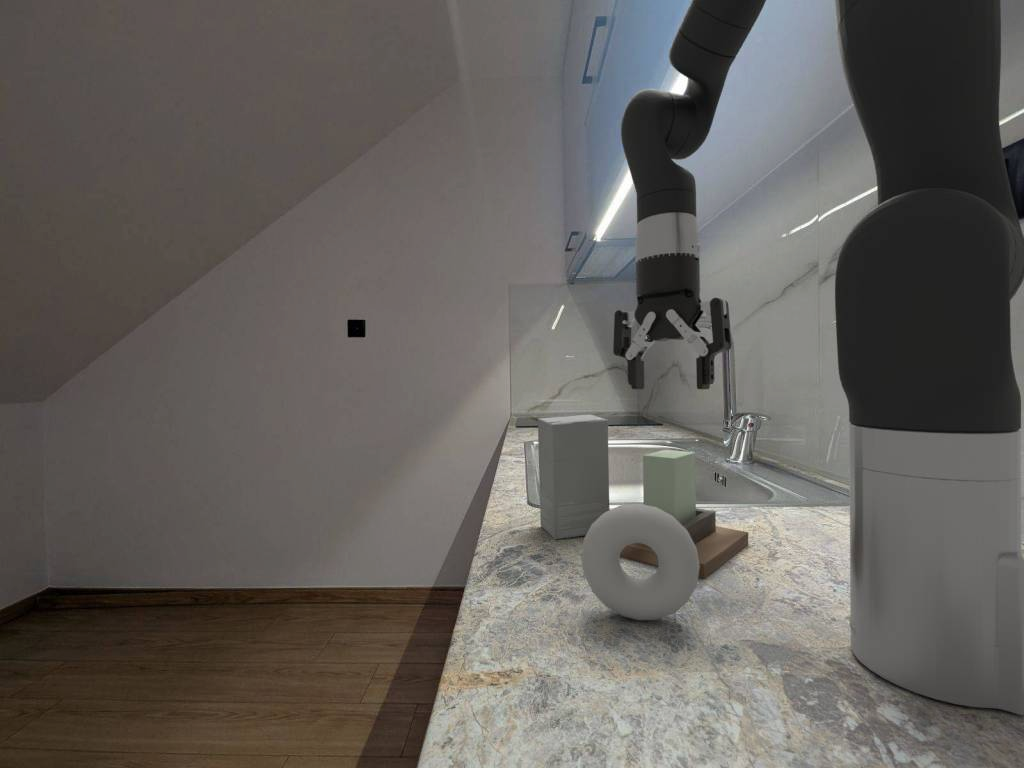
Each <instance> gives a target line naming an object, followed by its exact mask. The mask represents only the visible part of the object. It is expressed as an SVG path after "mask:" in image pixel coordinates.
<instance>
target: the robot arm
mask: <svg viewBox="0 0 1024 768" xmlns="http://www.w3.org/2000/svg"><path fill="white" fill-rule="evenodd" d="M766 2H767V0H690V2H689V5H688V7H687V9H686V11H685V14H684V16H683V18H682V20H681V22H680V24H679V26H678V28H677V31H676V33H675V35H674V37H673V39H672V43H671V45H670V48H669V51H668V60H669V63H670V64H671V66H672V68H674V70H675V71H677V72H678V73H680V74H681V75H682V76H684V77H686V78H687V83H686V86H685V87H686V88H685V90H684V92H683V94H679V93H674V92H671V91H670V92H669V91H667V90H662V89H657V88H645V89H641V90H639V91H638V92H637V93H635V94H634V95H633V96H632V97H631V99H629V101H628V102H627V104H626V106H625V109H624V111H623V115H622V117H621V123H620V126H621V127H620V134H621V135H620V136H621V143H622V144H621V145H622V148H623V152H624V155H625V158H626V159H625V160H626V163H627V165H628V169H629V173H630V176H631V179H632V182H633V185H634V189H635V193H636V225H637V226H636V228H637V229H636V234H635V245H634V247H635V281H636V282H635V283H636V284H635V288H636V289H635V292H636V293H635V295H636V298H637V299H636V301H637V306H636V308H635V310H632V311H631V310H630V311H628V310H627V311H625V310H621V309H618V310H616V311H615V312H614V319H613V323H614V324H613V354H614V355H615V356H616V357H621V358H624V359H625V360H626V361H627V382H628V385H629V386H630V387H631V389H632V390H644V388H645V361H644V360H642V359H643V357H645V355H646V354H647V352H648V350H649V349H650V348H651V347H653V345H654V344H655V343H656V342H667V341H670V340H674V341H675V340H677V341H680V340H685V342H686V343H688V344H690V345H691V347H692V348H693V349H694V351H695V352H696V353H697V354H698V355H699V357H696V358H695V359H696V360H695V361H696V362H695V363H696V364H695V368H696V388H697V390H710V388H711V387H710V386H711V385H714V382H715V357H716V356H717V355H718V354H720V353H722V352H725V351H726V352H727V351H730V349H732V333H731V322H730V309H729V302H728V301H727V300H725V299H724V298H720V297H713V298H711V299H710V300H707V301H702V300H701V297H700V292H701V280H700V279H701V276H700V275H701V273H700V272H701V271H700V270H701V269H700V268H701V267H700V254H701V244H700V234H699V230H698V223H697V222H698V221H697V220H698V219H697V188H696V187H697V186H696V185H697V184H696V178H695V176H694V174H693V173H692V172H690V171H689V170H688V169H686V168H684V167H683V166H681V165H679V164H677V163H676V162H674V160H676V161H677V160H680V161H681V160H685V159H687V158H689V157H691V156H692V155H693V154H695V153H696V152H697V151H698V150H699V149H700V148H701V147H702V146H703V144H704V143H705V141H706V139H707V138H708V135H709V133H710V130H711V128H712V126H713V121H714V118H715V115H716V111H717V108H718V104H719V102H720V99H721V95H722V93H723V91H724V90H723V89H724V86H725V83H726V81H727V80H726V79H727V77H728V74H729V70H730V68H731V66H732V65H733V62H734V61H735V59H736V57H737V55H738V54H739V52H740V50H741V49H742V47H743V45H744V43H745V42H746V39H747V38H748V36H749V34H750V32H751V30H752V29H753V27H754V25H755V24H756V22H757V19H758V18H759V16H760V14H761V13H762V10H763V9H764V6H765V4H766ZM834 12H835V13H834V14H835V25H836V37H837V46H838V51H839V58H840V63H841V67H842V72H843V75H844V79H845V82H846V85H847V89H848V92H849V94H850V97H851V100H852V104H853V106H854V109H855V111H856V114H857V116H858V120H859V122H860V125H861V128H862V130H863V132H864V135H865V138H866V141H867V143H868V145H869V149H870V152H871V157H872V160H873V162H874V163H873V165H874V170H875V175H876V188H877V205H876V206H875V207H874V208H872V209H870V211H868V212H867V213H866V214H865V215H863V216H862V218H861V219H860V220H858V222H857V223H856V224H855V225H854V226H853V228H852V229H851V230H850V232H849V233H848V235H847V236H846V238H845V240H844V242H843V243H842V247H841V249H840V251H839V255H838V259H837V263H836V268H835V269H836V270H835V278H834V279H835V280H834V308H835V309H834V310H835V311H834V312H835V329H836V331H835V333H836V348H837V349H836V350H837V351H836V352H837V365H838V366H837V367H838V369H837V370H838V376H839V380H840V385H841V387H842V390H843V392H844V394H845V397H846V399H847V404H848V413H849V414H848V420H849V421H848V422H849V423H848V430H849V431H848V432H849V433H848V434H849V435H848V439H849V440H848V441H849V442H848V443H849V445H848V446H849V447H848V448H849V449H848V450H849V460H848V461H849V465H848V467H849V579H850V580H849V581H850V582H849V587H850V588H849V590H850V592H849V593H850V595H849V597H850V601H849V602H850V616H849V628H850V649H851V651H852V653H853V655H854V657H855V658H856V659H857V660H858V662H860V663H861V664H862V665H863V666H865V667H866V668H867V669H868V670H870V671H872V672H873V673H875V674H876V675H878V676H879V677H881V678H883V679H885V680H887V681H888V682H890V683H892V684H894V685H896V686H899V687H901V688H903V689H906V690H908V691H910V692H913V693H915V694H919V695H922V696H925V697H927V698H932V699H934V700H937V701H942V702H946V703H951V704H954V705H960V706H965V707H972V708H980V709H981V708H984V709H985V708H986V709H998V710H1003V711H1006V712H1010V713H1013V714H1017V715H1020V716H1024V555H1023V551H1022V477H1021V476H1022V432H1021V429H1022V398H1021V393H1020V392H1021V391H1020V388H1019V386H1018V382H1017V380H1016V379H1017V378H1016V374H1015V370H1014V369H1015V368H1014V363H1013V355H1012V344H1011V343H1012V341H1011V340H1012V337H1011V336H1012V335H1011V334H1012V333H1011V330H1012V329H1011V300H1012V299H1013V298H1014V296H1016V294H1017V292H1018V291H1019V288H1020V287H1021V285H1022V284H1023V282H1024V233H1023V230H1022V227H1021V223H1020V220H1019V217H1018V213H1017V208H1016V205H1015V201H1014V196H1013V193H1012V189H1011V183H1010V180H1009V175H1008V174H1009V173H1008V170H1007V166H1006V161H1005V160H1006V159H1005V157H1004V150H1003V145H1002V137H1001V129H1000V127H1001V126H1000V91H1001V87H1000V86H1001V67H1002V66H1001V65H1002V64H1001V63H1002V59H1001V58H1002V17H1001V16H1002V14H1001V13H1002V9H1001V0H834ZM704 313H705V315H706V317H707V318H708V319H710V322H711V324H710V325H711V335H712V342H710V341H709V340H708V339H707V336H706V334H705V333H704V332H703V330H702V329H701V328H700V327H699V326H698V324H697V323H698V322H699V320H700V319H701V317H702V315H703V314H704ZM635 322H637V323H638V325H639V326H640V327H639V328H638V330H637V331H636V333H635V335H634V337H632V328H633V327H634V325H635Z"/></svg>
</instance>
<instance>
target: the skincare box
mask: <svg viewBox="0 0 1024 768" xmlns="http://www.w3.org/2000/svg"><path fill="white" fill-rule="evenodd" d="M537 435H538V437H537V439H538V440H537V443H538V445H537V446H538V475H539V478H538V480H539V482H538V483H539V506H540V507H539V511H540V526H541V527H542V529H544V530H545V531H546V532H547V533H548V534H549V535H550V536H551V537H552V538H553V539H554V540H561V539H569V538H577V537H583V536H584V537H585V536H586V535H587V533H588V531H589V529H590V527H591V525H592V524H593V523H594V522H595V521H596V520H597V519H598V518H599V517H600V516H601V515H602V514H603V513H605V512H607V511H609V510H611V509H610V469H609V468H610V467H609V466H610V465H609V463H610V461H609V420H608V419H607V418H603V417H600V416H597V415H594V414H581V415H570V416H557V417H556V416H555V417H540V418H539V417H538V418H537Z"/></svg>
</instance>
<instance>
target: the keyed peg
mask: <svg viewBox="0 0 1024 768" xmlns="http://www.w3.org/2000/svg"><path fill="white" fill-rule="evenodd" d="M642 461H643V462H642V468H643V469H642V476H643V477H642V481H643V482H642V483H643V484H642V486H643V487H642V488H643V489H642V491H643V503H642V504H643V505H648V506H653V507H657V508H659V509H661V510H662V511H664V512H666V513H668V514H670V515H672V516H673V517H674V518H675V519H676V520H677V521H678V522H679V523H680V524H682V523H684V522H686V521H688V520H690V519H692V518H694V517H695V516H696V508H697V507H696V506H697V502H696V501H697V500H696V499H697V497H696V496H697V495H696V493H697V491H696V489H697V488H696V487H697V486H696V484H697V483H696V479H697V477H696V452H695V451H686V450H685V451H684V450H682V451H681V450H673V449H662V450H659V451H655V452H650V453H646V454H643V455H642Z"/></svg>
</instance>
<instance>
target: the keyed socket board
mask: <svg viewBox="0 0 1024 768" xmlns="http://www.w3.org/2000/svg"><path fill="white" fill-rule="evenodd" d="M716 517H717V515H716V511H714V510H708V509H704V508H698V507H696V516H695V517H694V518H692V519H690V520H688V521H686V522H684V523H682V524H681V525H682V526H683V527H684V528H685V529H686V530H687V531H688V533H689V535H690V537H691V538H692V540H693V542H694V544H695V546H696V548H697V553H698V559H699V565H700V568H699V574H698V578H701V579H706V578H707V577H709V576H710V575H711V574H712V573H714V572H715V571H716V570H718V569H719V568H721V566H722V565H724V564H725V563H727V561H729V560H730V559H731V558H733V557H734V556H735V555H737V554H738V553H739V552H740V551H742V550H743V549H744V548H746V547H747V546H748V545H749V532H748V531H744V530H738V529H735V528H734V529H732V528H728V527H722V526H718V525H716V524H717V523H716V521H717V520H716ZM620 557H622V558H626V559H629V560H634V561H637V562H641V563H645V564H649V565H652V566H656V567H658V564H659V562H658V557H657V555H656V553H655V552H654V551H653V550H652V548H650V547H649V546H647V545H645V544H641V543H632V544H630V545H627V546H626V547H625V548H623V549H622V551H621V553H620Z"/></svg>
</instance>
